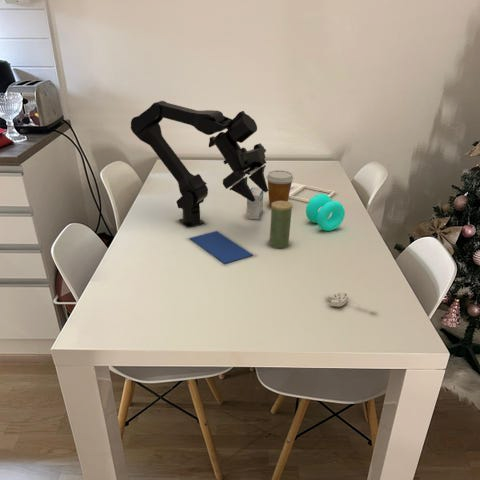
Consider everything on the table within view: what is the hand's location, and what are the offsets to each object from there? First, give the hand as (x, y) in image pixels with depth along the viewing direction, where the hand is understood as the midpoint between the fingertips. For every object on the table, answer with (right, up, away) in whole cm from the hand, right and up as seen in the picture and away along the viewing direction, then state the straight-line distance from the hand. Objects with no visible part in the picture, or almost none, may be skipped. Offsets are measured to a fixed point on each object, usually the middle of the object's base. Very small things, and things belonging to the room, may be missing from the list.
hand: (260, 196), depth 148 cm
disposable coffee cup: (+8, +4, +31) cm, 32 cm away
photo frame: (+19, +11, +42) cm, 47 cm away
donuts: (+22, -6, +17) cm, 28 cm away
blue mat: (-12, -15, +2) cm, 20 cm away
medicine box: (-1, -1, +24) cm, 24 cm away
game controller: (+21, -34, -25) cm, 47 cm away
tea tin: (+6, -14, +4) cm, 16 cm away
